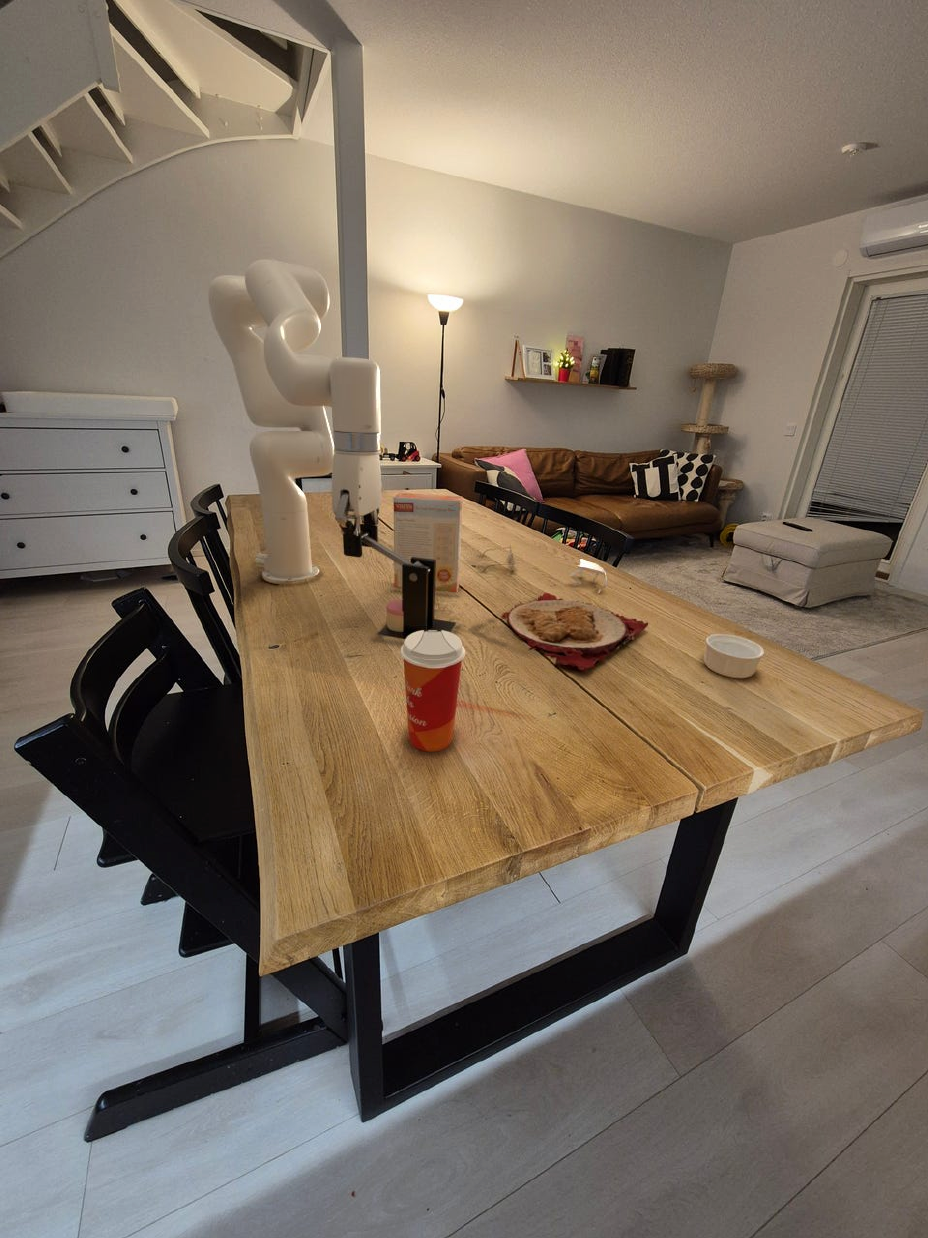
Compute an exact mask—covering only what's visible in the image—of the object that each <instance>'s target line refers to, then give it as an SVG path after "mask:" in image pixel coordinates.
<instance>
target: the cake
mask: <svg viewBox="0 0 928 1238" xmlns="http://www.w3.org/2000/svg"><path fill="white" fill-rule="evenodd" d="M385 608H386V625H387V627H388V628H389V629H390V630H393V631H397V632H403V611H402V599H394V600H391V601H388V602H387V604H386V607H385Z"/></svg>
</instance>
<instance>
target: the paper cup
mask: <svg viewBox="0 0 928 1238" xmlns="http://www.w3.org/2000/svg"><path fill="white" fill-rule="evenodd" d="M465 649H466V648H465V647H464V646H463V642H462V640H461V638H460V637H459V636H458V635H457V634H455V633H453V632H451V633H450V632H447V631H443V630H441V632H437V630H428V632H424V630H421V631H417V632H414V633H412V634H410V635H409V636H408V637H407V638H406V639H404V641H403V644H402V646H401V648H400V655H401V658H402V659H403V673H404V686H405V687H404V688H405V702H406V716H407V717H406V718H407V719H406V720H407V730H408V739H409V742H410V744H411V745H412V747H414V748H415V749H417V750H420V751H423V752H429V753H432V752H439V751H442V750H444V749H446V748H447V747H449V746H450V745H451V743H452V740H453V735H454V730H455V722H456V721H455V720H456V715H457V714H456V712H457V707H458V706H457V704H458V696H459V689H460V678H461V670H462V663H463V662H462V661H463V659H464V658H465V656H466V650H465Z"/></svg>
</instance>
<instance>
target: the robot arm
mask: <svg viewBox="0 0 928 1238" xmlns="http://www.w3.org/2000/svg"><path fill="white" fill-rule="evenodd" d="M208 306H209V310H210V315H211V319H212V322H213V325H214V328H215V330H216V332H217V335H218V337H219V338H220V340H221V342H222V344H223V346H224V347H225V350H226V352H227V354H228V356H229V357H230V358H229V359H230V360H231V363H232V365H233V369H234V373H235V376H236V381H237V383H238V388H239V391H240V395H241V399H242V403H243V406H244V409H245V412H246V414H247V416H248V419H249V420H250V422H251V423H252V424H254V425H255V426H258V427H262V428H276V429H277V428H278V429H279V428H285V429H286V428H288V429H289V428H292V429H293V428H298V429H299V430H268V431H262V432H260V433H258V434H255V436H253V437H252V439H251V440H250V443H249V455H250V459H251V464H252V466H253V470H254V474H255V478H256V482H257V487H258V492H259V500H260V506H261V507H260V508H261V515H262V523H263V525H262V526H263V533H264V541H265V549H266V553H257V554H256V555H255V556H256V557H255V558H254V564H255V565H262V566H263V570H262V571H261V577H262V579H263V580H264V581H265V582H268V583H270V584H274V585H281V584H283V583H285V582H293V581H302V580H306V579H310V578H313V577H315V576H317V575H318V574H319V573H320V568H319V567H317V566H316V565H314V564H313V563H312V551H311V537H310V526H309V525H310V523H309V513H308V502H307V497H306V494H305V493H304V492H303V490H301V488H300V487H299V486H298V485H297V483H296V482H295V479H299V478H311V477H323V476H327V475H329V474H331V509H332V513H333V514H334V519H335V521H336V522H337V524H338V526H339V528H340V532H341V534H342V544H343V545H342V546H343V555H344V556H345V557H351V558H359V559H360V558H362V557H363V547H366V548H371V547H370V546H369V545H367V544H365V543H364V542H362V534H359V532H361V531H363V530H365V529H369V530H370V531H371V536H369V537H370V538H372V539H373V540H375V541H376V542H378V543H379V533H378V532H379V531H378V528H379V527H378V525H379V513H380V508H381V505H382V500H383V492H382V491H383V489H382V488H383V487H382V485H383V483H382V470H381V462H380V455H382V433H381V432H382V431H381V427H382V426H381V373H380V367H379V365H378V364H377V362H376V361H375V360H373V359H369V358H364V357H363V358H362V357H351V356H340V357H336V356H335V357H334V356H328V355H319V354H318V355H317V354H305V353H302V352H305V351H307V350H308V349H310V348H311V347H312V346H313V345H314V344H315V343H316V341H317V340H318V338H319V335H320V333H321V321H322V320H323V319H324V318H325V317H326V316H327V313H328V311H329V308H330V291H329V288H328V285H327V283H326V280H325V279H324V277H323V276H322V274H321V273H320V272H318V271H317V270H316V269H314V268H312V267H310V266H305V265H300V264H295V263H290V262H285V261H281V260H276V259H269V258H266V259H265V258H263V259H259V260H255V261H254V262H252V263H251V264H250V265H249V266H248V268H247V269H246V271H245V275H237V274H224V275H219V276H216V277H215V278H213V279H212V280H211V282H210V283H209V286H208ZM253 328H254V329H255V328H256V329H262V330H263V329H265V330H266V333H265V336H264V340H263V339H262V338H261V337H260V336H259V335H258V334H256V332H255V331H254V330H253ZM325 407H326V408H327V407H329V408H331V416H332V417H331V419H332V433H331V429H330V425H329V421H328V417H327V413H326V409H325ZM350 512H353V514H349V513H350ZM349 519H350V520H349ZM352 520H353V522H352Z"/></svg>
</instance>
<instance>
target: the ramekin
mask: <svg viewBox="0 0 928 1238" xmlns="http://www.w3.org/2000/svg"><path fill="white" fill-rule="evenodd" d="M764 655H765V650H764V648H763V647H762V646H761V645H759V644H758V643H757V642H755V641H753V640H750V639H748V638H745V637H742V636H739V635H733V634H727V633H716V634H711V635H709V636H707V637H706V639H705V649H704V655H703V662H704V664H705V666H706V667H707V668H708V669H709V670H711V671H712V672H714V673H716V674H719V675H720V676H723V677H728V678H734V679H747V678H750V677H752V676H753V675H754V674H755V672H756V670H757V668H758V665H759V664H760V662H761V659H763V657H764Z"/></svg>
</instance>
